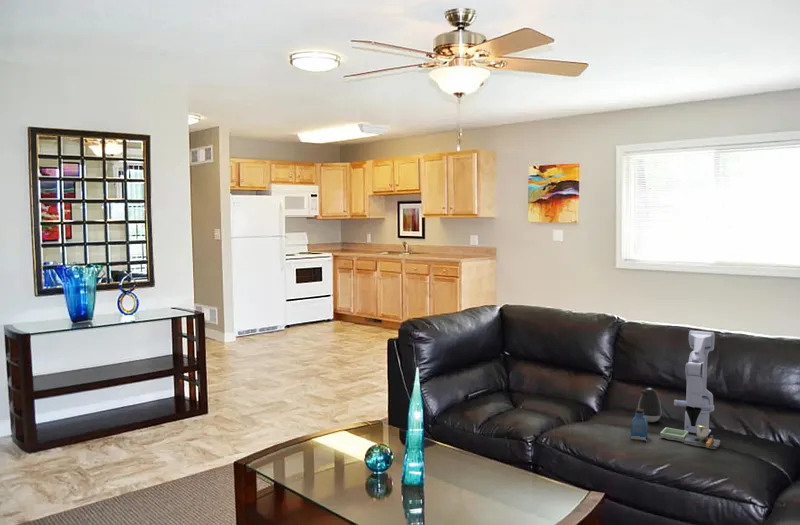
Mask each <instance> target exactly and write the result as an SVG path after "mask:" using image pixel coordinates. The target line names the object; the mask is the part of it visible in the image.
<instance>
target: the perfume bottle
mask: <svg viewBox="0 0 800 525" xmlns="http://www.w3.org/2000/svg"><path fill="white" fill-rule="evenodd" d="M643 411H644V410H643V409H638V408H636V409H635V412H634V413H635V415H634V417H632V420H631V423H630V437H631V436H640V437H647V438H648V431H649V430H648V429H649V428H648V424H649V422H647V420H646V418H645V417H643V416H644V412H643Z"/></svg>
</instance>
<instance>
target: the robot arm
mask: <svg viewBox="0 0 800 525" xmlns="http://www.w3.org/2000/svg"><path fill="white" fill-rule="evenodd" d="M688 332H689V333H688V343H689V346H690V349H691V350H692V351H691V352H690V353H689V358H688V362H686V363H685V370H684V371H685V380H686V390H685V391H686V393H685V394H686V396H685V397H686V399H685V400H682V399H681V400H679V399H674V400H673V406H675V407H676V406H677V407H678V406H679V407H685V413H684V431H689V433H692V434H697V425H706V426H708V435H709V434H710V433H711V432H712V429H710V413H712V412H714V411H715V405H714V395H713V393H712V392H711V391H709V390H708V389H707V383H708V382H707V378H708V377H707V376H708V359H709V358H708V357H709V356H708V355H709V353H710V352H713V351H714V349H715V340H716V336H715V335H716V334H715V332H714V331H701V330H691V329H690V330H689V331H688Z"/></svg>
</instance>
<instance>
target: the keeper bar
mask: <svg viewBox="0 0 800 525" xmlns="http://www.w3.org/2000/svg"><path fill="white" fill-rule="evenodd" d="M708 438H709V440H708V441H707V442H706V447H709V446H710V445H711V444H712V442H713V439H714V435H713V434H712V435H711V434H710V435H709V437H708Z"/></svg>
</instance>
